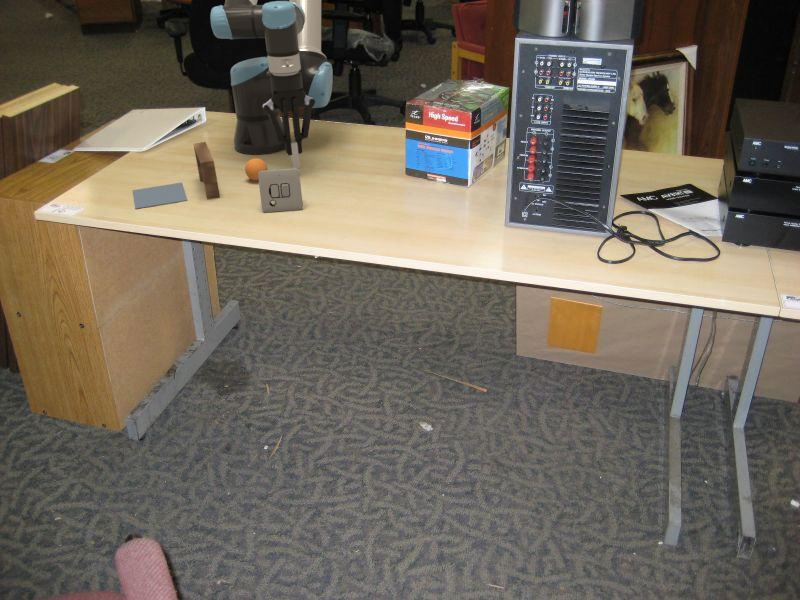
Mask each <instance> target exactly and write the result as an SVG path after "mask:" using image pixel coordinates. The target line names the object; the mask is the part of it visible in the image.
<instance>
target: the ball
mask: <svg viewBox="0 0 800 600" xmlns="http://www.w3.org/2000/svg"><path fill="white" fill-rule="evenodd" d="M267 170H269V169H268V165H267V164H266V162H265V161H264V160H262V159H261V158H258V157H256V158H251V159H249V160H248V161H247V163H246V164H245V168H244V173H245V174H246V176H247V177H248V179H250V180H251V181H256V182H257V181H258V182H259V178H258V173H259V172H260V171H267Z"/></svg>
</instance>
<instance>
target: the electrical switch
mask: <svg viewBox="0 0 800 600" xmlns="http://www.w3.org/2000/svg"><path fill="white" fill-rule="evenodd" d="M258 178H259V181H258V186H259V194H260V195H259V196H260V203H261V210H262V212H264V213H271V212H272V213H273V212H284V211H295V210H296V211H297V210H298V211H300V210H302V208H303V207H304V204H303V202H304V201H303V197H302V196H303V194H302V187H301V172H300V170H299V168H283V169H281V168H280V169H270V170H269V169H268V170H267V171H260V172H259V173H258ZM272 202H274V204H273V203H272Z"/></svg>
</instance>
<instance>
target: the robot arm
mask: <svg viewBox="0 0 800 600" xmlns="http://www.w3.org/2000/svg"><path fill="white" fill-rule="evenodd" d="M209 16H210V17H209V18H210V26H211V31H212V32H213V33H212V34H213V35H214V36H215V37H216V38H217V39H221V40H222V39H229V40H239V39H243V40H244V39H265V46H266V47H265V48H266V55H267V56H260V57H253V58H249V59H246V60H245V59H244V60H242V61H239V62H237V63H236V64H234V65H233V66H232V67H231V68H230V72H229V73H230V85H231V89H232V97H233V102H234V103H233V104H234V109H235V114H236V115H235V116H236V124H235V131H234V136H233V145H234V150H236V151H237V152H238V153H241V154H246V155H265V154H266V155H267V154H272V153H276V152H279V151H281V150H284V149H285V153H286V154H287V156H289V157H290V162H291V166H292V169H294V168H297V169H299V168H301V165H300V157H299V155H300V154H301V155H302V153H303V146H302V142H303V140H305V139H308V138H309V132H310V127H311V125H310V124H311V117H312V110H313V109H319V108H325V107H326V106H327V105H328V104H329V102H330V99H331V96H332V91H333V84H334V83H333V81H334V80H333V73H334V72H333V71H334V70H333V66H332V64H331V62H329V61H328V59H327V56H326V54H324V53H323V52H322V0H289V1H288V0H275V1H269V2H265V3H264V4H258V0H225V1H224V5H222V4H220V5H217V6H213V7H212V8H211V11H210V15H209ZM299 109H304V110H303V116H302V122H301V124H300V111H299ZM289 112H291V120H292V128H293V135H294V136H293V137H294V139H292V138H291V137H292V136H291V129H290V128H291V127H290V119H289ZM280 115H281V116H280Z"/></svg>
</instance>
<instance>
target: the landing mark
mask: <svg viewBox="0 0 800 600" xmlns="http://www.w3.org/2000/svg"><path fill="white" fill-rule="evenodd" d="M131 192H132V197H133V203H134V209H135V210H140V209H146V208H152V207H158V206H164V205H169V204H175V203H176V204H178V203H181V202H187V201H188V198H187V194H186V191H185V187H184V185H183V182H177V183H169V184H163V185H157V186H151V187H144V188H139V189H132V191H131Z"/></svg>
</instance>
